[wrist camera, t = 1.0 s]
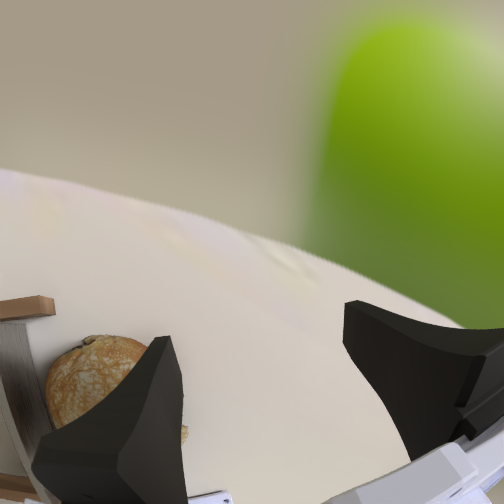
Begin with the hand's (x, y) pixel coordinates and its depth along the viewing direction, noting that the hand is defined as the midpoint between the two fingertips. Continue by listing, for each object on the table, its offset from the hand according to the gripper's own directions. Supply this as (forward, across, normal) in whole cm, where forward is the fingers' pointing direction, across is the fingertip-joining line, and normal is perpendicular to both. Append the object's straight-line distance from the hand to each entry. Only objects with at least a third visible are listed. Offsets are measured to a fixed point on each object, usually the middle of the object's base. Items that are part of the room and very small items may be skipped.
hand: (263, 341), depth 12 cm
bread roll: (+6, +10, +8) cm, 15 cm away
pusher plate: (+5, +17, +8) cm, 19 cm away
